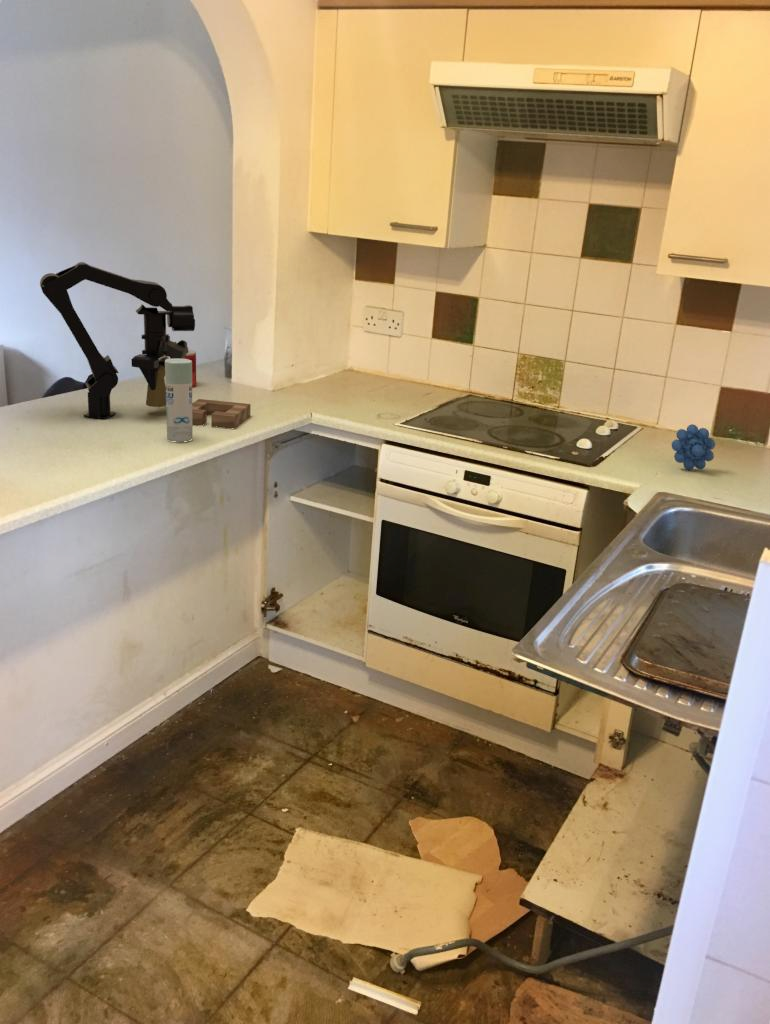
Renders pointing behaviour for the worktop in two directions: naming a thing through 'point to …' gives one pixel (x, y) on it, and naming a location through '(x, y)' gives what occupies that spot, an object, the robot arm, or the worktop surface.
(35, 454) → the worktop surface
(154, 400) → the cork
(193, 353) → the canned food
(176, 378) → the spray paint can
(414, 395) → the worktop surface
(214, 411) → the socket block
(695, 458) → the blue knobbed flower
